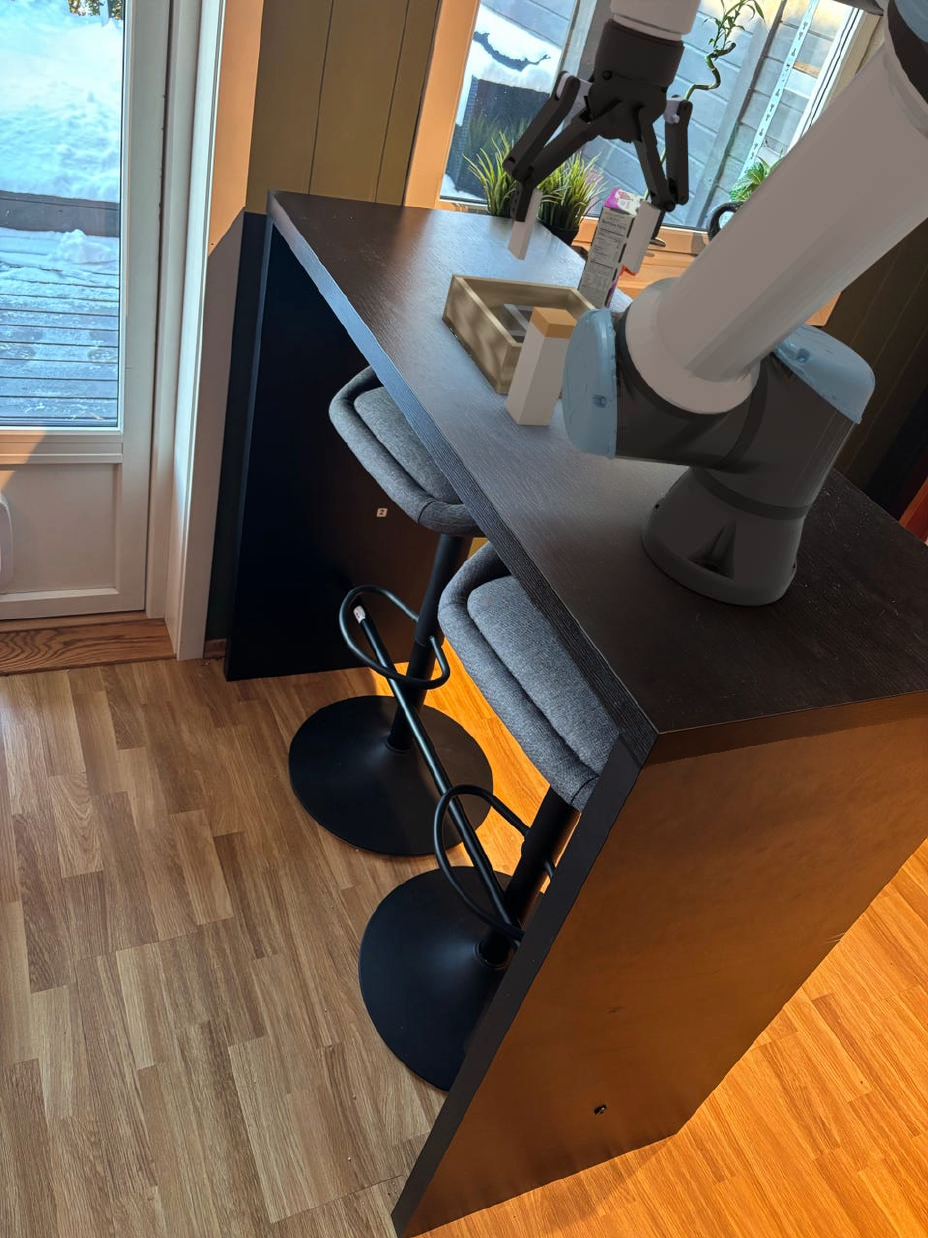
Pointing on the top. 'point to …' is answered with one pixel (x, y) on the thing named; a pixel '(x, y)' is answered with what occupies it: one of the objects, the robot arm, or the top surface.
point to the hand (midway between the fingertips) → (574, 261)
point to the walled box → (502, 319)
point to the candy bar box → (608, 247)
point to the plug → (540, 367)
